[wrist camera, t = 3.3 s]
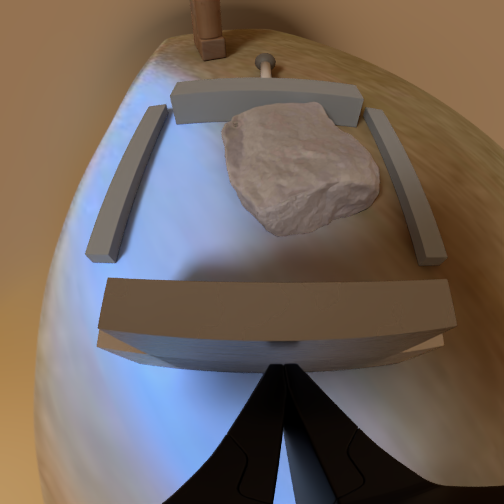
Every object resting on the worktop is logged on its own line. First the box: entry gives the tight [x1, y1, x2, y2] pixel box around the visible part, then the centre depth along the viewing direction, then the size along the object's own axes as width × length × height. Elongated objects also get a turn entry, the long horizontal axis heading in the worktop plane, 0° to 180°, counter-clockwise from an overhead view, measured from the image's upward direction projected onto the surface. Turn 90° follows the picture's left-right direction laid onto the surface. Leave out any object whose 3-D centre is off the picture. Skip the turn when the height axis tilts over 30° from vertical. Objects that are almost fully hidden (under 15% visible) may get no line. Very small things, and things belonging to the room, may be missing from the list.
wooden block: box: [190, 0, 226, 61], centre depth 29 cm, size 4×11×18 cm, turn 16°
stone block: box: [221, 102, 380, 237], centre depth 21 cm, size 12×5×10 cm
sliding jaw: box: [97, 278, 457, 373], centre depth 11 cm, size 3×15×9 cm, turn 89°
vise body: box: [85, 53, 448, 266], centre depth 23 cm, size 29×25×4 cm
